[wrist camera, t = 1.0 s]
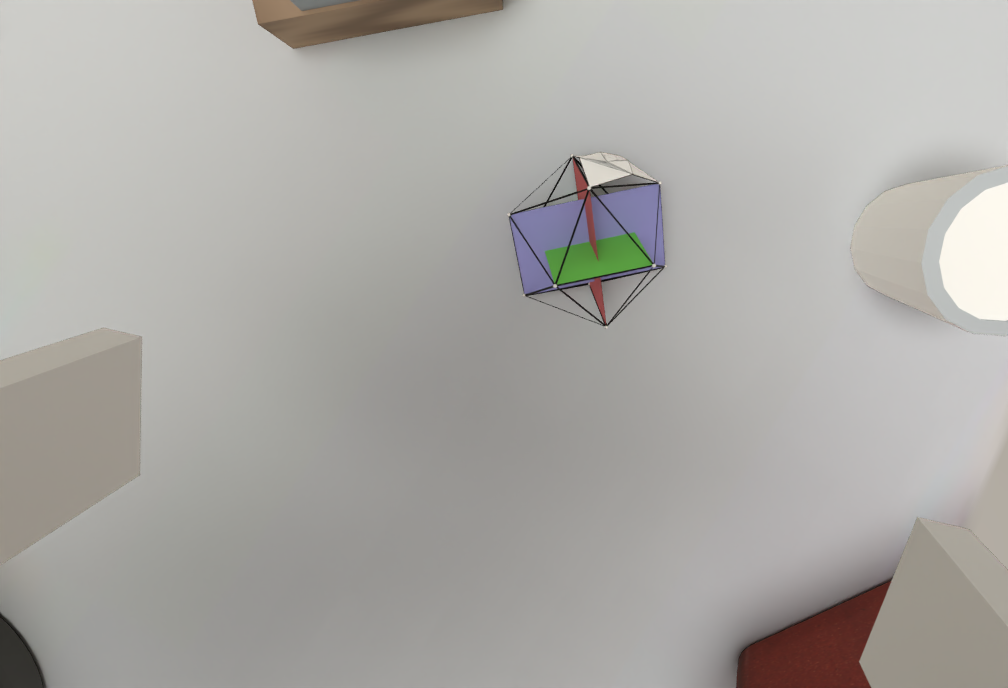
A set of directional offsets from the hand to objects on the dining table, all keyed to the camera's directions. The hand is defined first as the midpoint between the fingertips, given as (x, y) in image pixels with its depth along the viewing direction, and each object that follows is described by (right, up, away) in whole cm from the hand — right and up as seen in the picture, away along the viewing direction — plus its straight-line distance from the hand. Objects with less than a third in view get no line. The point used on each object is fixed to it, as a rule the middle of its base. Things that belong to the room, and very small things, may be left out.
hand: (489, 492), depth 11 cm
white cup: (+20, +8, +22) cm, 31 cm away
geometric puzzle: (+4, +8, +22) cm, 24 cm away
